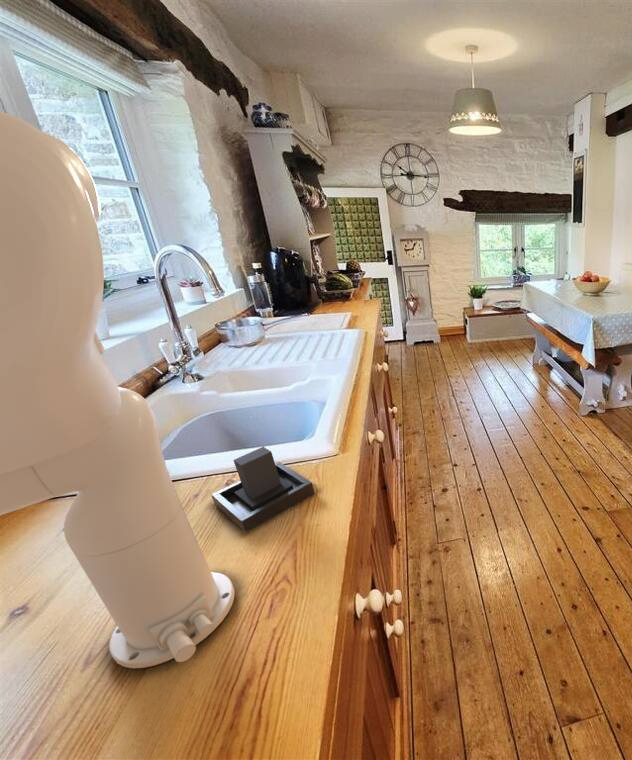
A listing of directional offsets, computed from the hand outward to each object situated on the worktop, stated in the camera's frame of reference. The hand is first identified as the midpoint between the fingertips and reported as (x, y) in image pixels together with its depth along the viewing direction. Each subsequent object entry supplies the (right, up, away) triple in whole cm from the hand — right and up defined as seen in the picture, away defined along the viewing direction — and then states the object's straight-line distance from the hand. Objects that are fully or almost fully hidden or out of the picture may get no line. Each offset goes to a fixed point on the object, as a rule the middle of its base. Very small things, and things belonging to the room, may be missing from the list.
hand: (91, 393), depth 59 cm
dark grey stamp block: (+16, -19, +15) cm, 29 cm away
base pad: (+16, -19, +15) cm, 29 cm away
